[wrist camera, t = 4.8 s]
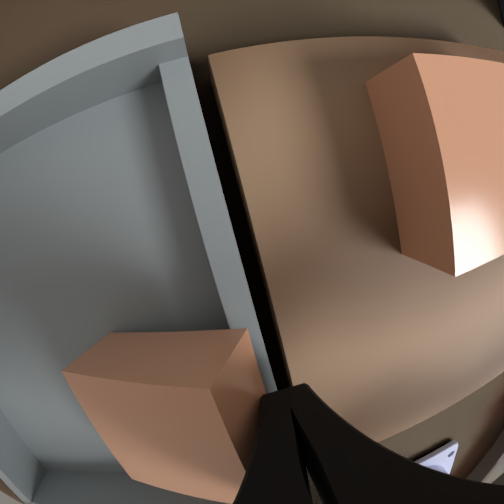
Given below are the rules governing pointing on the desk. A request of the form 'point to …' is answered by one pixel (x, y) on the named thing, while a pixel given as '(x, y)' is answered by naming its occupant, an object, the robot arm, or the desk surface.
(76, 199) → the tray
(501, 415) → the desk surface
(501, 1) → the small box
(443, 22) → the desk surface
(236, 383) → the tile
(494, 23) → the desk surface
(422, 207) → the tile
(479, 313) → the plate
